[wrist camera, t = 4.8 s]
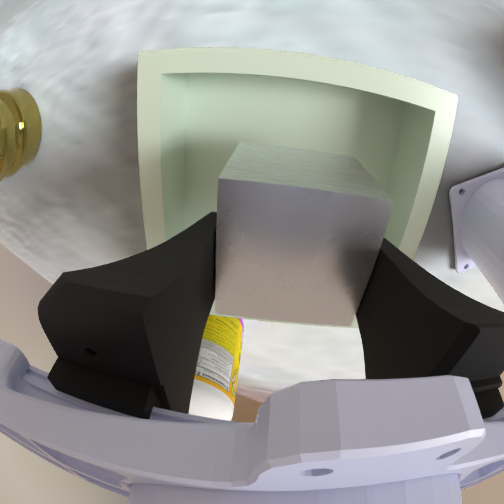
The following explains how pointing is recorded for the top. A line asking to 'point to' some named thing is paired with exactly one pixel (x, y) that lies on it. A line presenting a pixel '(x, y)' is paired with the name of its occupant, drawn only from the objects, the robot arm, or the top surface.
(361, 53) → the top surface
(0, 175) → the brass calibration weight
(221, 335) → the supplement bottle
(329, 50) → the top surface
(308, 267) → the steel block
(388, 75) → the tote
